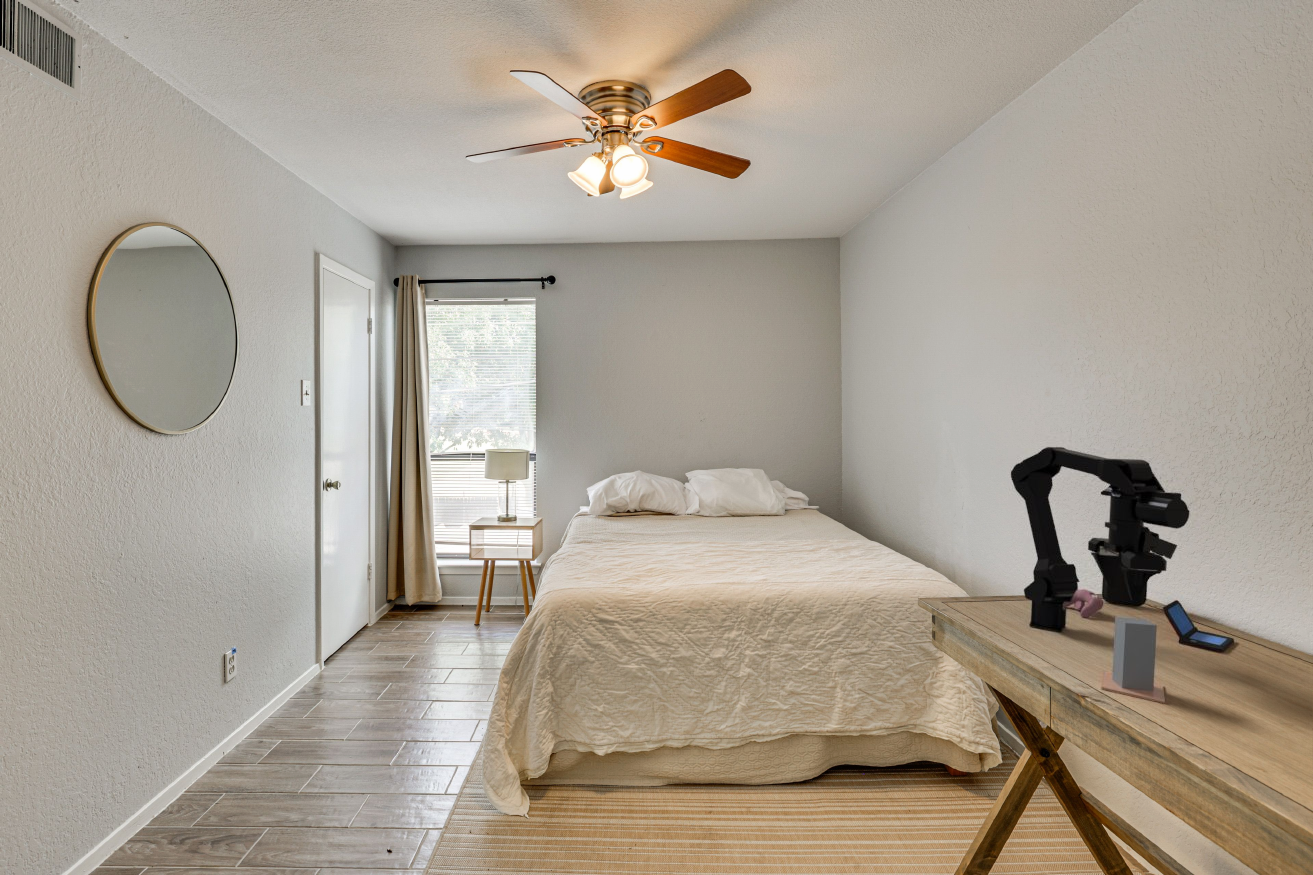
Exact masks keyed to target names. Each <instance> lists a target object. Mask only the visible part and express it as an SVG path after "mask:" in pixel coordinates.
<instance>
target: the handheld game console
mask: <svg viewBox="0 0 1313 875" xmlns="http://www.w3.org/2000/svg"><path fill="white" fill-rule="evenodd" d="M1162 612H1163V614H1164V616H1165V618H1166V619H1167V621H1168V622H1169V624H1170V625H1171V627H1172V628H1173V631H1175V634H1176V636H1177V637H1178V641H1177V642H1178V643H1179V644H1180V645H1185V646H1187V647H1188V646H1189V647H1193V648H1197V649H1201V650H1205V651H1209V652H1212V653H1213V652H1214V653H1218V654H1220V653H1224V652H1225V651H1226V650H1227V649H1229V648H1230V647H1231V646H1232V645H1233V644H1234V643H1235V639H1234V638H1233V637H1229V636H1226V635H1223V634H1222V635H1221V634H1217V633H1212V632H1210V631H1203V630H1199V629H1198V627H1196V626H1195V624H1194V622H1192V620H1191V618H1190V616H1189V615H1188V613H1187V612H1186V609H1185V608H1184V607H1183V605H1182V603H1181V602H1180V601H1179V600H1177V599H1175V600H1173V601H1172V602H1170V603H1168V604H1166V605H1165V606H1163V607H1162Z"/></svg>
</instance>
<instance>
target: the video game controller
mask: <svg viewBox="0 0 1313 875" xmlns="http://www.w3.org/2000/svg"><path fill="white" fill-rule="evenodd" d="M1086 603H1087V604H1086ZM1072 605H1073V608H1074V609H1075V610H1077V611H1079V612H1080V617H1082V618H1084V619H1086V618H1090V617H1093V616H1094V615H1096V613H1098V612H1099V611H1100V610H1102V608H1104V607H1103V606H1104V599H1103V598H1100V596H1099V595H1097V594H1096V593H1095V592H1093V591H1090V590H1088V589H1085V588H1083V589H1081V588H1080V589H1079V588H1078V590H1077V591H1076V592H1075V594H1074V595H1073V598H1072V600H1071V602H1064V608H1068V607H1070V606H1072Z"/></svg>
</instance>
